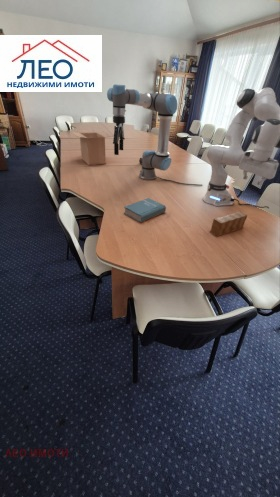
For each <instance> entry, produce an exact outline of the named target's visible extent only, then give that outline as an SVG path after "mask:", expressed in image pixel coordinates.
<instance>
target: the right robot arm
mask: <svg viewBox="0 0 280 497" xmlns="http://www.w3.org/2000/svg"><path fill="white" fill-rule="evenodd" d="M236 106H237V107H238V108H239V110H238V111H237V112H236V113H235V115H234V116H233V118H232V119H231V122H230V124H229V126H228V128H227V130H226V132H225V135H224V139H225V141H226V142H227V143H228V144H229V146H225V145H220V144H212V145H210V146H209V147H208V148H207V150H206V154H205V155H206V159H207V160H208V161H209V163H210V166H211V174H210V180H209V182H208V185H207V189H206V192H205V194H204V197H203V199H202V200H203V201H204V202H205V203H206V204H209V205H213V206H215V207H224V206H225V207H226V206H233V205H234V202H235V201H236V202H238V205H239V206H252V207H255V208H258V209H259V208H260V209H263V208H266V209H270V207H269V206H268V205H267V206H266V205H264V206H260V205H259V206H258V205H255V204H251V203H240V200H239V199H237V198H235V196H232V194H231V193H230V192H229V190H228V189H230V185H228V184H227V179H228V175H229V174H228V171H227V170H226V169H225V168H224V166H223V165H226V166H230V167H238V169H240V170H242V174H243V178H242V179H243V180H245V181H246V180H247V179H248V177H249V176H248V173H250V174H253V175H255V176H258V177H261V180H258V181H257V185H258V186H262V185H263V183H264V182H265V181H266V180H272V179H274V178H275V177H276V174H277V171H278V168H279V166H280V163H279V160H278V159H275V158H272V155H273V153H274V150H275V149H274V148H276V149H280V105H279V104H278V102H277V96H276V93H275V91H274V89H273V88H271V87H268V86H267V87H264V88H262V89H260V90H259V91H258V92H257V91H256V90H255V89H252V88H245V89H243V90H242V91H241V92H240V94H239V95H238V97H237V99H236ZM251 120H253V121H254V122H255V121H258V120H259V121H262V122H264V123H263V124H261V125H260V124H259V125H258V126H257V127H255V128H254V130H253V133H252V136H251V139H250V140H251V142H252V143H253V144H254V145H255V146H254V149H252V150H246V151H244V149H243V148H242V140H243V137H244V135H245V133H246V131H247V128H248V126H249V123H250V122H251Z"/></svg>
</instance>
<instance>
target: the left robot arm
mask: <svg viewBox="0 0 280 497" xmlns="http://www.w3.org/2000/svg"><path fill="white" fill-rule="evenodd" d="M106 98H107V100H108V101H109V102H111V103H112V123H114V124H115V125H114V129H113V130H114V131H113V140H112V144H113V154H114V156H119V155H120V154H119V153H120V151H124V141H125V130H124V124H125V123H126V112H127V110H126V105H132V106H137V107H142V108H143V109H147V110H150V111H153V112H156V113H157V116H158V118H159V122H158V124H159V125H158V136H157V150H153V149H151V150H145V151H143V152H142V157H141V158H142V164H141V169H140V170H139V178H140V179H142V180H146V181H154V180H156V178H157V179H160V180H163V181H167V182H173V183H175V184H180V185H189V186H199V183H198V184H197V183H183V182H178V181H175V180H171V179H165V178H161V177H159V176H157V174H156V169H157V170H158V171H167V170H168V169H169V168H170V166H171V164H172V158H171V156H170V152H169V142H170V131H171V123H172V122H171V121H172V118H173V117H174V114H175V113H177V110H178V104H179V103H178V99H177V97H176V96H175V95H174V94H171V93H159V92H154V93H150V92H145V93H141V92H140V91H138V90H137V89H131V88H130V89H128V88H127V87H126V85H125V84H116V83H115V84H113V85H112V87H109V88H108V89H107V92H106ZM200 186H203V184H200Z"/></svg>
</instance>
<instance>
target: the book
mask: <svg viewBox="0 0 280 497" xmlns="http://www.w3.org/2000/svg"><path fill="white" fill-rule="evenodd" d="M166 209H167V207H166V205H165V204H162V203H161V202H159V201H156V200H154V199H152V198H151V197H148V198H145V199H142V200H139V201H136V202H134V203H131V204H127V205H125V206H124V212H123V214H124V215H126V216H128V217H130V219H133V220H134V221H137V222H138V223H143V222H145V221H147V220H150V219H152V218H154V217H156V216H158V215H161V214H164V213H166Z"/></svg>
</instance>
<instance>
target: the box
mask: <svg viewBox="0 0 280 497" xmlns="http://www.w3.org/2000/svg"><path fill="white" fill-rule="evenodd" d="M70 133H71V134H72V135H74V136H75V137H77V138H79V144H80V153H81V160H83V162H85V163H86V165H87V166H95V165H97V166H98V165H106V163H107V162H106V158H107V157H106V138H114V135H111V134H109V133H108V132H105V131H98V132H96V131H95V130H92V129H91V130H77V132H76V131H70Z"/></svg>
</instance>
